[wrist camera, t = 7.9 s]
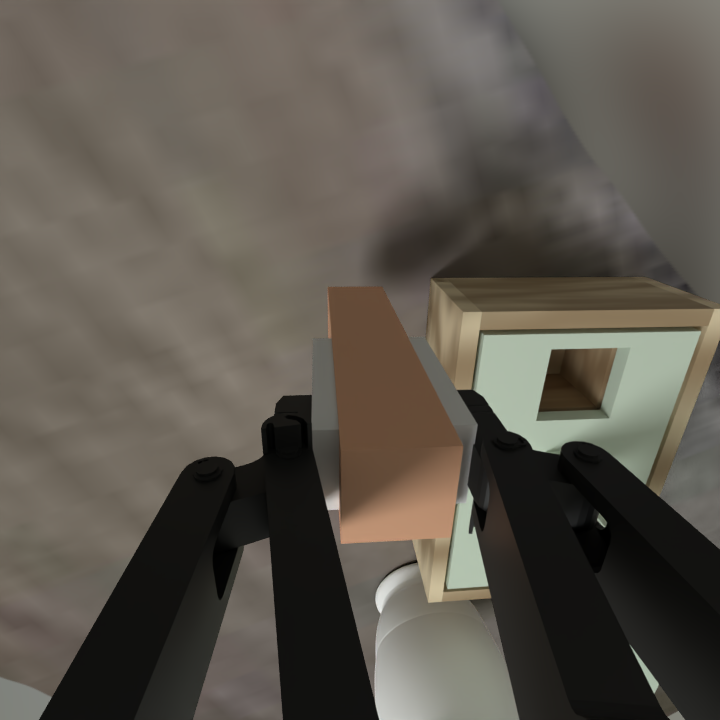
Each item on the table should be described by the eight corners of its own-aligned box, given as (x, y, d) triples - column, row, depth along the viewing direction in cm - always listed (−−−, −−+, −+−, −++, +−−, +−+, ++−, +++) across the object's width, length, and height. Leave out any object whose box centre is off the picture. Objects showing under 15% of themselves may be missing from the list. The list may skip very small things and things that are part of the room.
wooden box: (430, 278, 29) (462, 312, 23) (644, 276, 30) (731, 308, 24) (409, 528, 38) (428, 602, 32) (574, 519, 40) (623, 588, 33)
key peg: (327, 287, 24) (340, 450, 11) (382, 286, 24) (463, 445, 11) (328, 338, 25) (340, 543, 12) (380, 337, 26) (451, 537, 12)
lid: (477, 328, 24) (582, 439, 15) (687, 325, 25) (909, 425, 16) (443, 577, 32) (497, 751, 23) (603, 565, 34) (718, 728, 24)
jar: (491, 559, 41) (578, 759, 27) (452, 631, 45) (511, 839, 31) (382, 544, 39) (418, 753, 25) (350, 621, 43) (367, 838, 29)
